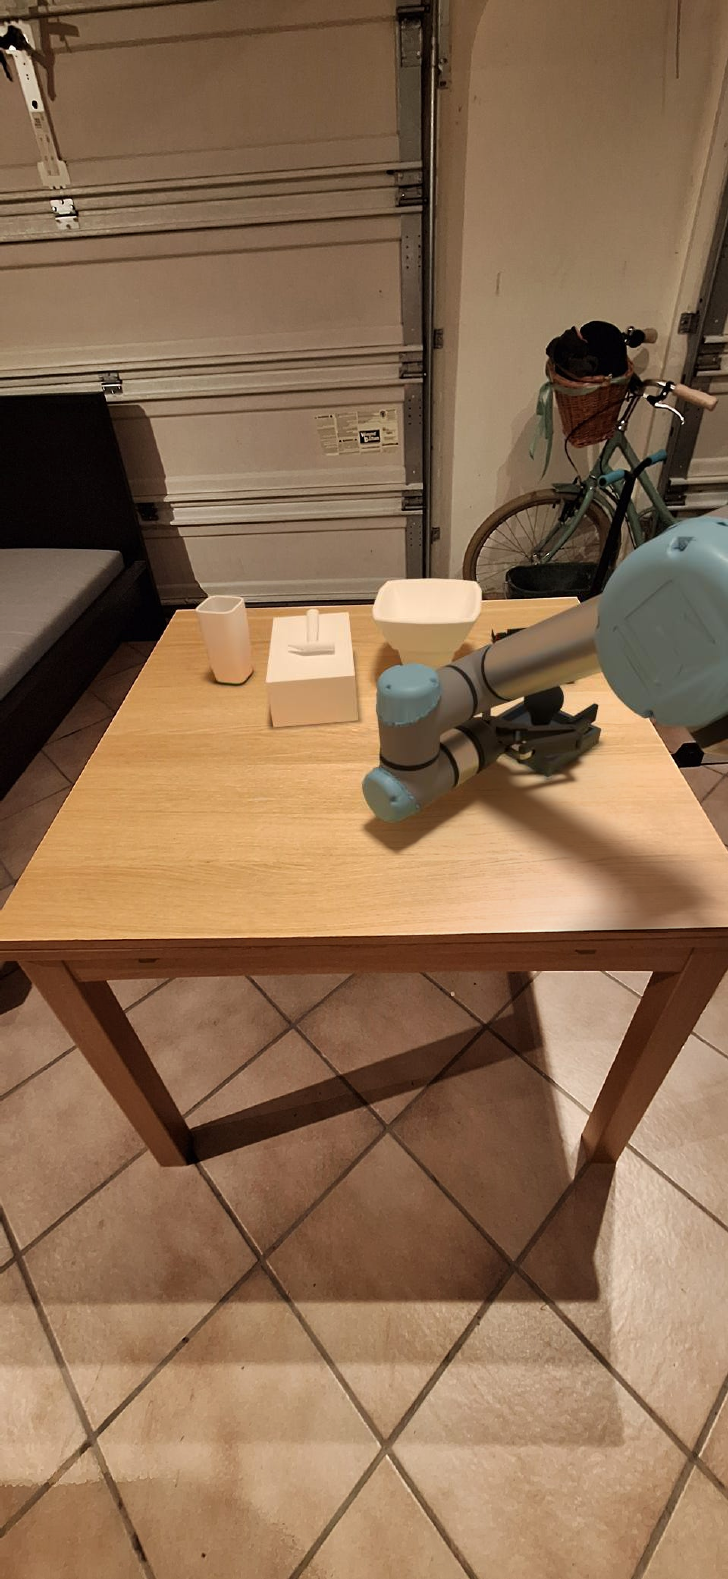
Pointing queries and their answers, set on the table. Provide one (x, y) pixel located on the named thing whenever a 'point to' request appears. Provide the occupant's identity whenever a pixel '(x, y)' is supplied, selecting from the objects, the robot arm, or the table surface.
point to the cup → (226, 637)
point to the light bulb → (544, 705)
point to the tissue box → (311, 670)
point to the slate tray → (521, 715)
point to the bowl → (427, 617)
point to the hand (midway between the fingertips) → (556, 694)
